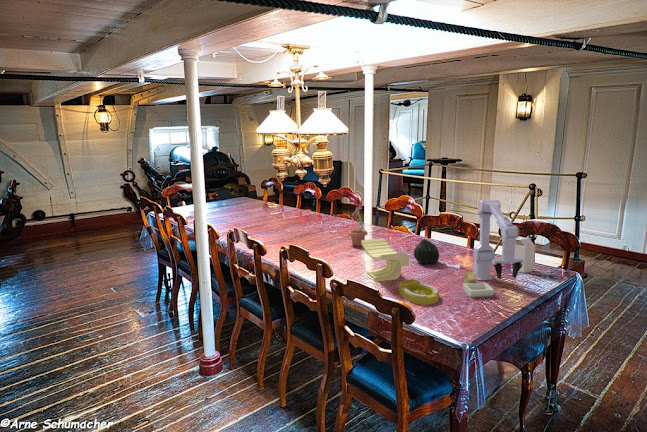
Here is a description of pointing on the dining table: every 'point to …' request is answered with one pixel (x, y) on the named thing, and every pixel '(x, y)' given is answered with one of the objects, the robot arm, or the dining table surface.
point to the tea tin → (469, 277)
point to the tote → (478, 290)
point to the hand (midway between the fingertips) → (506, 277)
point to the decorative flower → (358, 234)
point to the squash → (426, 252)
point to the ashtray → (418, 292)
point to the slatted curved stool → (383, 251)
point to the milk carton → (525, 254)
